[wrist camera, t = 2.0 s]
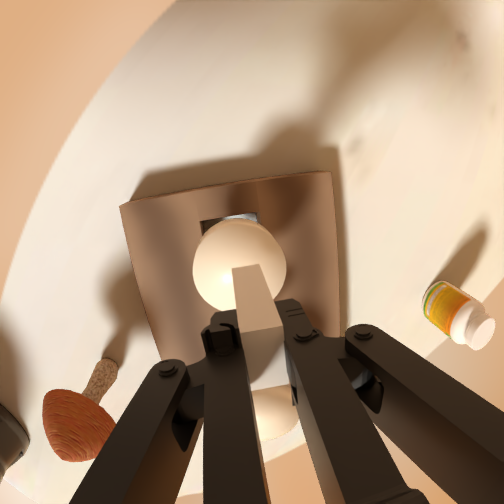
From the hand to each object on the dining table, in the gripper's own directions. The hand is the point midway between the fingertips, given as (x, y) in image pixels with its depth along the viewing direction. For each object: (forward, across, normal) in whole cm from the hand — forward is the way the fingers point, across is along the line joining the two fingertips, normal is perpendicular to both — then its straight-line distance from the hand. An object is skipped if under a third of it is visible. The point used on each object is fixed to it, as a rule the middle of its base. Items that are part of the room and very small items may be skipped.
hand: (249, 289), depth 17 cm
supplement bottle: (+13, +24, -12) cm, 30 cm away
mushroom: (+13, -17, -12) cm, 25 cm away
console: (+13, 0, -7) cm, 14 cm away
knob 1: (+9, 0, 0) cm, 9 cm away
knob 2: (+9, 0, -14) cm, 17 cm away
